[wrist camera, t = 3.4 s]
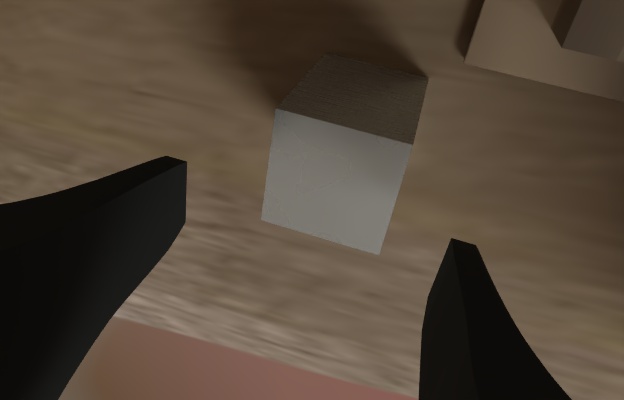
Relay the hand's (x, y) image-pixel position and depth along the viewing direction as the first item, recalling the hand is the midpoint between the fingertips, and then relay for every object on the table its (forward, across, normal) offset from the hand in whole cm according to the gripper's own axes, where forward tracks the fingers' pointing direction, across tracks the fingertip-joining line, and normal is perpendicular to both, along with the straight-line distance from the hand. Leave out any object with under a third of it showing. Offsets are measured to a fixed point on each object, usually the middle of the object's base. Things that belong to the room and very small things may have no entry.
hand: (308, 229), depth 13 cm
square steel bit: (+8, 0, 0) cm, 8 cm away
